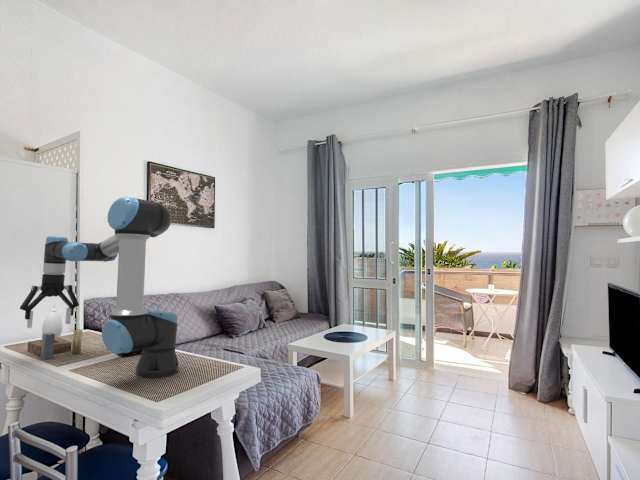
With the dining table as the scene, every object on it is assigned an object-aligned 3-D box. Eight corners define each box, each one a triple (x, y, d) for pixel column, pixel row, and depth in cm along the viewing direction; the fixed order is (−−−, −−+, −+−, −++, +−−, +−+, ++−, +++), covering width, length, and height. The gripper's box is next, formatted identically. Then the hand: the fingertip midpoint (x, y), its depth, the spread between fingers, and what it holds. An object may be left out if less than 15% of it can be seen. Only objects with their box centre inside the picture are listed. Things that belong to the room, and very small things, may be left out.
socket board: (70, 351, 165) (71, 342, 165) (38, 356, 155) (39, 346, 155) (58, 346, 172) (59, 337, 172) (27, 351, 162) (28, 341, 162)
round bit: (81, 353, 163) (83, 330, 163) (73, 355, 160) (75, 331, 160) (78, 352, 164) (80, 329, 165) (70, 353, 162) (72, 330, 162)
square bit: (52, 358, 154) (54, 333, 154) (43, 360, 151) (45, 335, 151) (49, 357, 155) (51, 332, 156) (40, 358, 153) (42, 333, 153)
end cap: (121, 358, 160) (122, 342, 160) (114, 354, 164) (116, 339, 164) (145, 354, 167) (146, 339, 167) (138, 351, 172) (139, 336, 172)
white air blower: (40, 341, 179) (43, 303, 180) (59, 339, 184) (62, 302, 185) (42, 344, 173) (45, 305, 174) (62, 342, 179) (65, 304, 179)
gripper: (82, 272, 167) (78, 320, 166) (13, 273, 147) (7, 327, 146) (90, 274, 163) (86, 323, 162) (20, 274, 142) (15, 331, 141)
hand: (49, 325), depth 154 cm, fingers open, 13 cm apart
